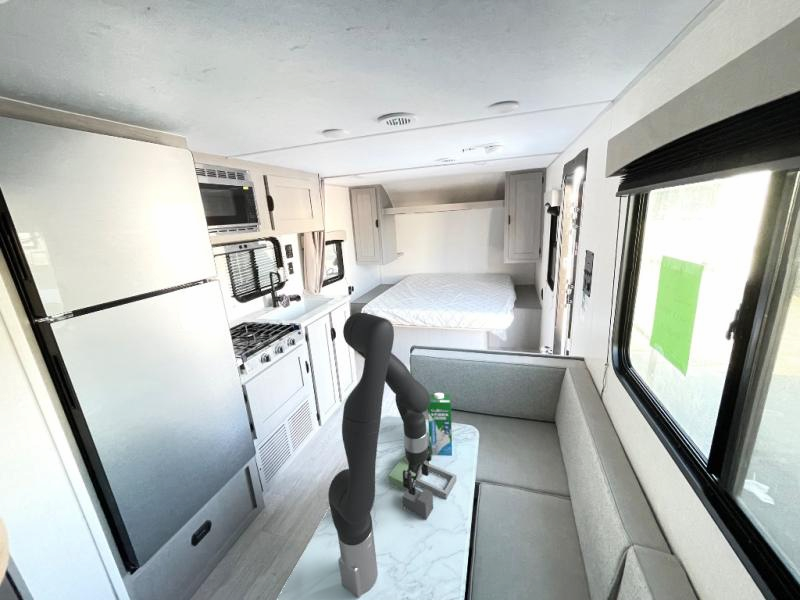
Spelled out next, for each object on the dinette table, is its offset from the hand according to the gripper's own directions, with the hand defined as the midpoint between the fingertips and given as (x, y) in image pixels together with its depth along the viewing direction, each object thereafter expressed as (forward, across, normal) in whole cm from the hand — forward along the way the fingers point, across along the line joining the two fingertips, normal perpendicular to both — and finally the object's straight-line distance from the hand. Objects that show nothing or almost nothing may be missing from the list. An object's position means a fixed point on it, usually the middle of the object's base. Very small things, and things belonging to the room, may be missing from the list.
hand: (419, 483), depth 104 cm
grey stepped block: (+10, -1, +1) cm, 10 cm away
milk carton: (+11, +28, +6) cm, 31 cm away
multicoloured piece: (+10, +11, +4) cm, 16 cm away
